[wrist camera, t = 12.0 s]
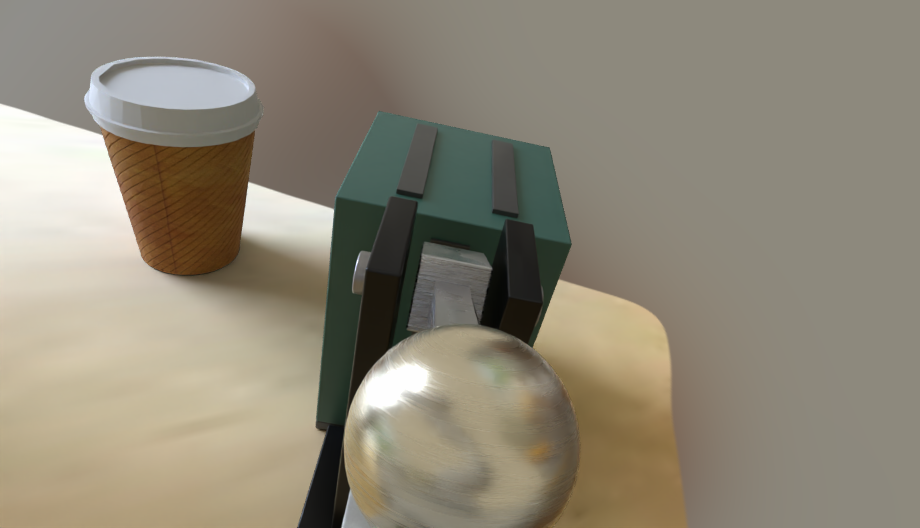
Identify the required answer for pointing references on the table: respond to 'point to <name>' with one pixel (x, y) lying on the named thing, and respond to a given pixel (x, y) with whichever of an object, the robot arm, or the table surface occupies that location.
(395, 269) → the lever bracket
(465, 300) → the lever
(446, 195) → the toaster
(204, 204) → the disposable coffee cup
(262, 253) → the table surface
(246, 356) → the table surface
